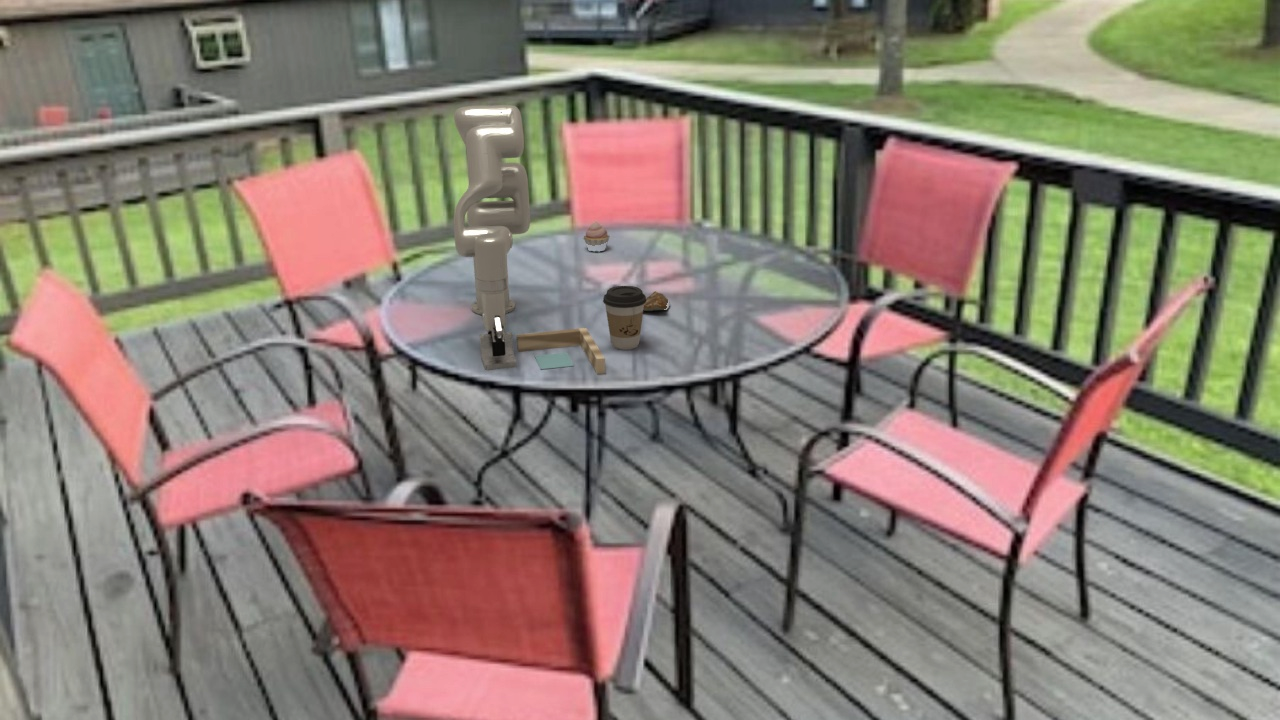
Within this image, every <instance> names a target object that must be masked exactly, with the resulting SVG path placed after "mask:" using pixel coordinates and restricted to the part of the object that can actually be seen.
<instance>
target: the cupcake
mask: <svg viewBox="0 0 1280 720" xmlns="http://www.w3.org/2000/svg"><path fill="white" fill-rule="evenodd" d="M583 240H584V243H585V245H586V244H588V245H592V246H595V245H601V244H604V243H606V242H607V243H608V242H609V240H610V235H609V234H608V230H607V229H606V227H604V226H603V225H600V223H598V221H595V222H594V223H592V224H590V226H589V228H588V229H587V230H586V232H585V235H583Z"/></svg>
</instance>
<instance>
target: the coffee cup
mask: <svg viewBox="0 0 1280 720" xmlns="http://www.w3.org/2000/svg"><path fill="white" fill-rule="evenodd" d="M646 298H647V296H646V294H644V293H643V290H642V289H641V288H640V287H638V286H637V287H636V286H634V285H618V286H616V285H615V286H613V287H610V288H609V289H607V291H606V294H604V295H603V300H602V302H603V304H604V305H605V309H606V310H605V312H606V318H607V323H608V325H607V326H608V331H609V337H610V338H609V339H610V343H611V346H612V348H614V349H616V350H621V351H622V350H623V351H628V350H634V349H636V348H637V347H639V343H640V339H641V332H642V331H641V330H642V324H643V323H642V322H643V314H644V311H643V308H644V303H646Z"/></svg>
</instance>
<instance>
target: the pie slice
mask: <svg viewBox="0 0 1280 720" xmlns="http://www.w3.org/2000/svg"><path fill="white" fill-rule="evenodd" d="M668 300H669V299H668V298H667V297H666V295H664V294H663V293H660V292H658V291H656V290H655V291H653V292H652V293H651V294H650V295H649V296H646V303H644V308H643V310H644V311H643V312H654V311H653V310H664V309H666V308H667V306H666V305H667V303H668Z"/></svg>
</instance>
